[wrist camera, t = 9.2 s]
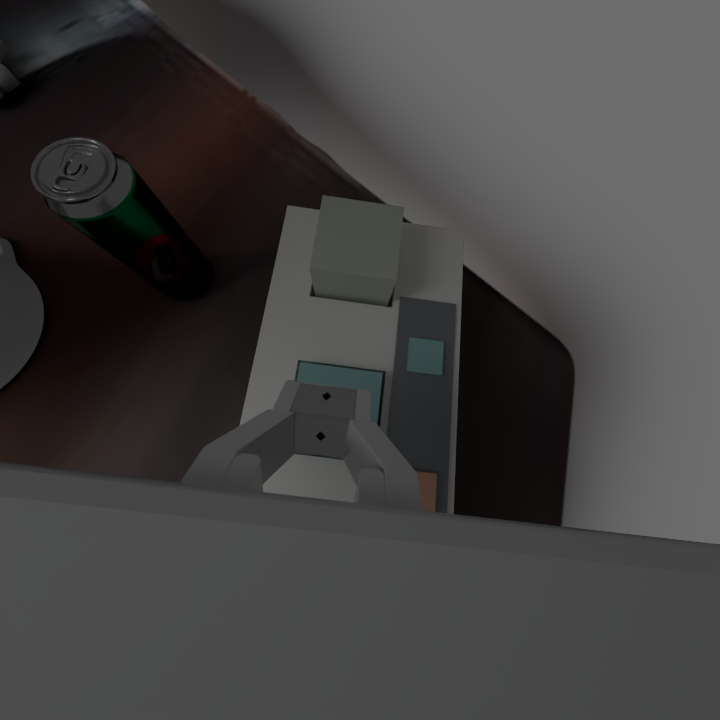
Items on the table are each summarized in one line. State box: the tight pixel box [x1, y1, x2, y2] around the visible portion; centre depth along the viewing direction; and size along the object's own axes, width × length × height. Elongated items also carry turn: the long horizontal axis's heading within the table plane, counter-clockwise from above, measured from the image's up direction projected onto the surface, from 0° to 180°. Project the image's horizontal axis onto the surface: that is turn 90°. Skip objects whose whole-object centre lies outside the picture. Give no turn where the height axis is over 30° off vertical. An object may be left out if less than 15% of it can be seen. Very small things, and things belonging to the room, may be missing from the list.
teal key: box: [297, 362, 383, 424], centre depth 18 cm, size 5×5×4 cm
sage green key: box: [309, 195, 404, 307], centre depth 19 cm, size 5×5×4 cm
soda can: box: [30, 137, 214, 301], centre depth 21 cm, size 5×5×12 cm
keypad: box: [240, 206, 464, 514], centre depth 21 cm, size 13×28×8 cm, turn 173°
